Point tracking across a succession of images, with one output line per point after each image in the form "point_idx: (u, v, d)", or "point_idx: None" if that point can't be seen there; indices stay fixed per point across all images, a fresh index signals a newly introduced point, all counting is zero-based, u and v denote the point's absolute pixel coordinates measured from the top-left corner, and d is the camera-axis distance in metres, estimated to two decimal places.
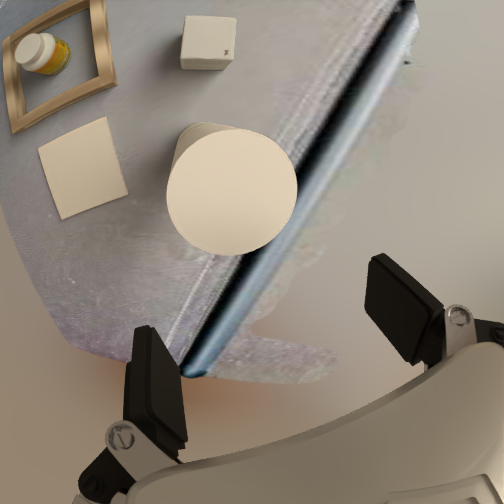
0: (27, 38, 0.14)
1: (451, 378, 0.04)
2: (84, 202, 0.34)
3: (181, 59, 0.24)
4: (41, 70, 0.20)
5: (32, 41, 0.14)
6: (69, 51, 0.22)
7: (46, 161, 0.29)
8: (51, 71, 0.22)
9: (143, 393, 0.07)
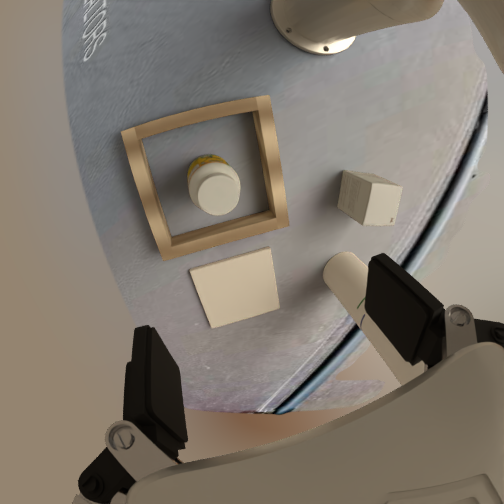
0: (216, 181, 0.24)
1: (451, 378, 0.04)
2: (238, 315, 0.44)
3: (361, 224, 0.34)
4: None
5: (226, 188, 0.25)
6: None
7: (201, 283, 0.40)
8: None
9: (143, 393, 0.07)
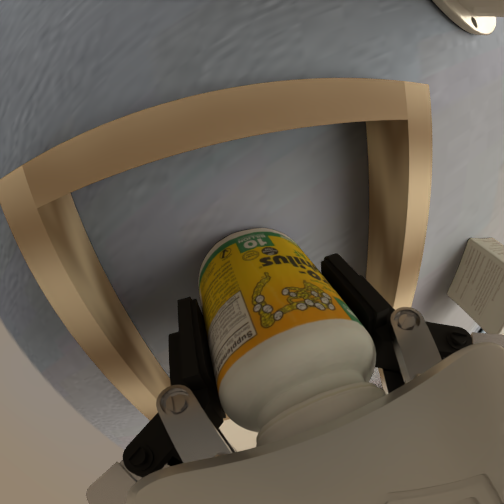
0: None
1: (451, 378, 0.04)
2: None
3: None
4: None
5: None
6: None
7: (228, 427, 0.20)
8: None
9: (196, 356, 0.08)
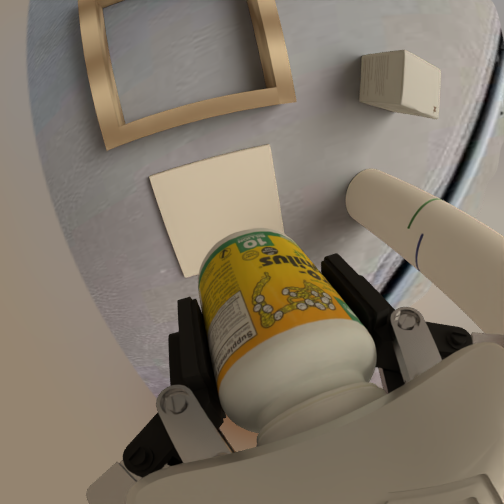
0: None
1: (451, 378, 0.04)
2: None
3: (398, 104, 0.20)
4: None
5: None
6: None
7: (165, 197, 0.25)
8: None
9: (196, 356, 0.08)
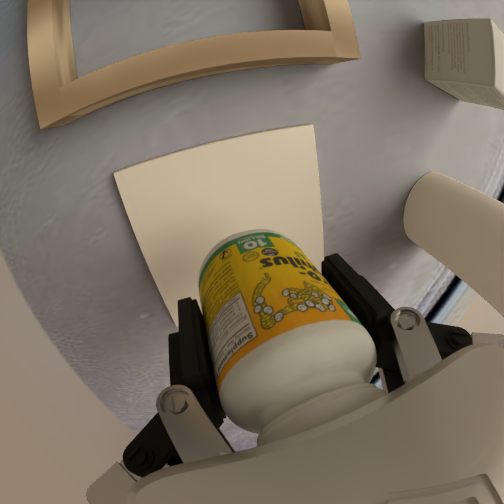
0: None
1: (451, 378, 0.04)
2: None
3: (490, 86, 0.09)
4: None
5: None
6: None
7: (141, 208, 0.15)
8: None
9: (196, 356, 0.08)
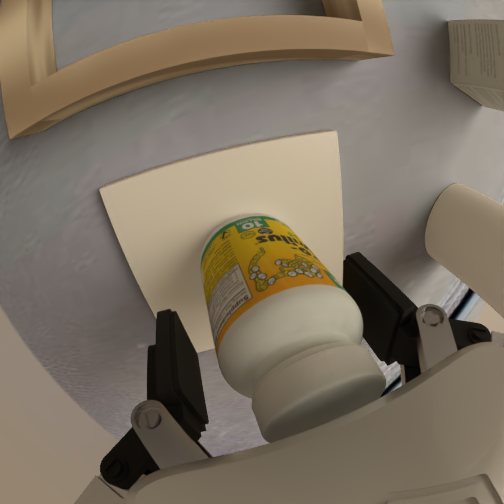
0: (336, 393, 0.06)
1: (451, 378, 0.04)
2: None
3: None
4: None
5: (356, 398, 0.06)
6: None
7: (133, 230, 0.12)
8: None
9: (170, 371, 0.07)
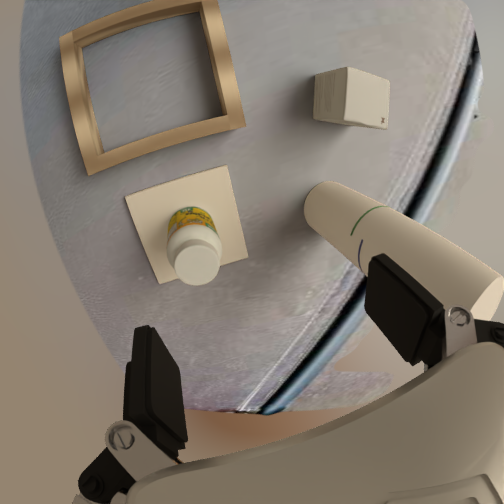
0: (193, 251, 0.22)
1: (451, 378, 0.04)
2: None
3: (342, 119, 0.24)
4: None
5: (205, 258, 0.23)
6: None
7: (139, 214, 0.29)
8: None
9: (143, 393, 0.07)
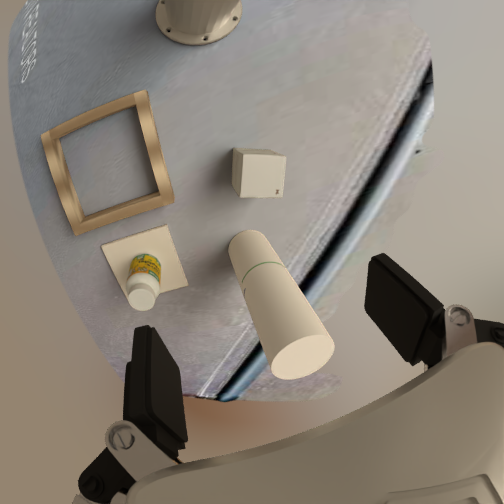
0: (138, 292, 0.35)
1: (451, 378, 0.04)
2: None
3: (240, 197, 0.36)
4: None
5: (145, 296, 0.36)
6: (160, 266, 0.43)
7: (111, 257, 0.41)
8: None
9: (143, 393, 0.07)
